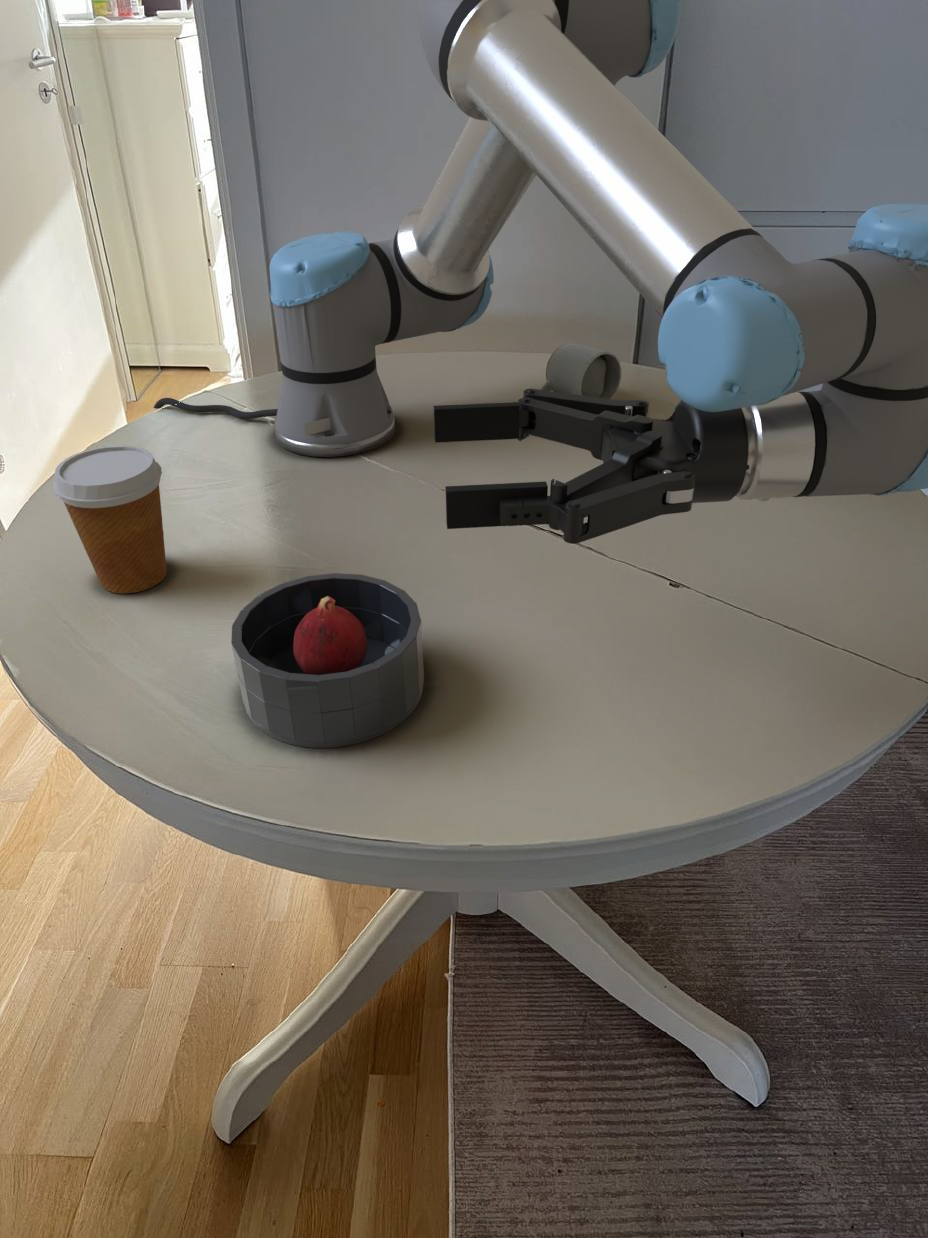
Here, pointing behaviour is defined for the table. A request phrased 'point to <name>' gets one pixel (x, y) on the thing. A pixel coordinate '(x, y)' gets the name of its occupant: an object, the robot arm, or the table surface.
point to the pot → (337, 700)
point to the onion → (329, 640)
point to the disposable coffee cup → (116, 514)
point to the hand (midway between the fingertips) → (439, 462)
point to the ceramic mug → (583, 371)
